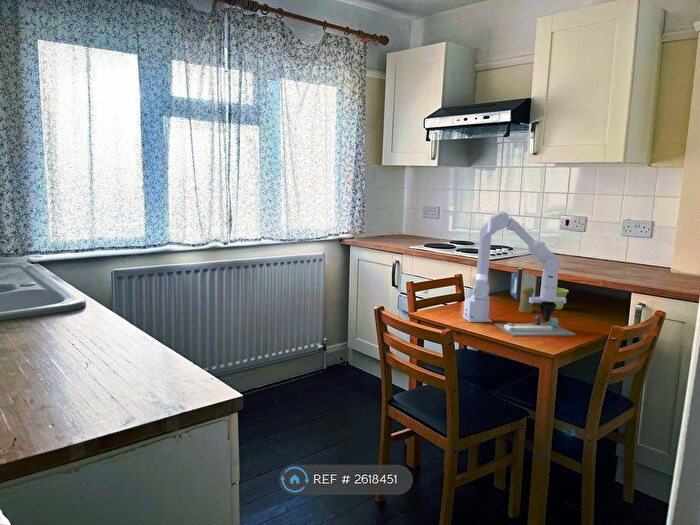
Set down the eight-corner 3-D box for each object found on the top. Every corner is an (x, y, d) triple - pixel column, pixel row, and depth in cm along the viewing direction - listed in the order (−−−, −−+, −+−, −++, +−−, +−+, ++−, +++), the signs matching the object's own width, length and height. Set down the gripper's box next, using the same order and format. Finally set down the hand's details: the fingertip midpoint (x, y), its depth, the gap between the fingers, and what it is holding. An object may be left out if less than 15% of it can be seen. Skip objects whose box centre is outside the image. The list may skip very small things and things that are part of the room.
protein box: (530, 294, 267) (533, 264, 265) (538, 301, 252) (541, 269, 250) (509, 293, 268) (512, 263, 266) (515, 300, 253) (518, 268, 251)
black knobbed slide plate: (515, 328, 197) (516, 317, 197) (512, 326, 199) (513, 315, 199) (549, 328, 200) (550, 317, 199) (546, 326, 202) (547, 315, 201)
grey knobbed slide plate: (512, 336, 190) (513, 329, 190) (494, 325, 205) (494, 319, 204) (575, 335, 194) (576, 329, 194) (553, 324, 209) (553, 318, 209)
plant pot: (559, 305, 245) (561, 287, 244) (570, 310, 236) (572, 291, 234) (540, 305, 243) (542, 287, 242) (551, 310, 234) (553, 291, 233)
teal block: (550, 326, 203) (551, 319, 202) (547, 324, 205) (547, 317, 205) (557, 326, 203) (558, 319, 203) (554, 324, 206) (555, 317, 205)
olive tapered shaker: (533, 313, 227) (536, 288, 225) (519, 312, 228) (521, 287, 226) (531, 310, 233) (534, 285, 231) (517, 309, 234) (519, 284, 232)
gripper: (537, 288, 197) (533, 323, 199) (572, 288, 200) (568, 323, 202) (527, 284, 204) (524, 319, 206) (561, 285, 207) (558, 318, 209)
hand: (545, 320), depth 205 cm, fingers closed
